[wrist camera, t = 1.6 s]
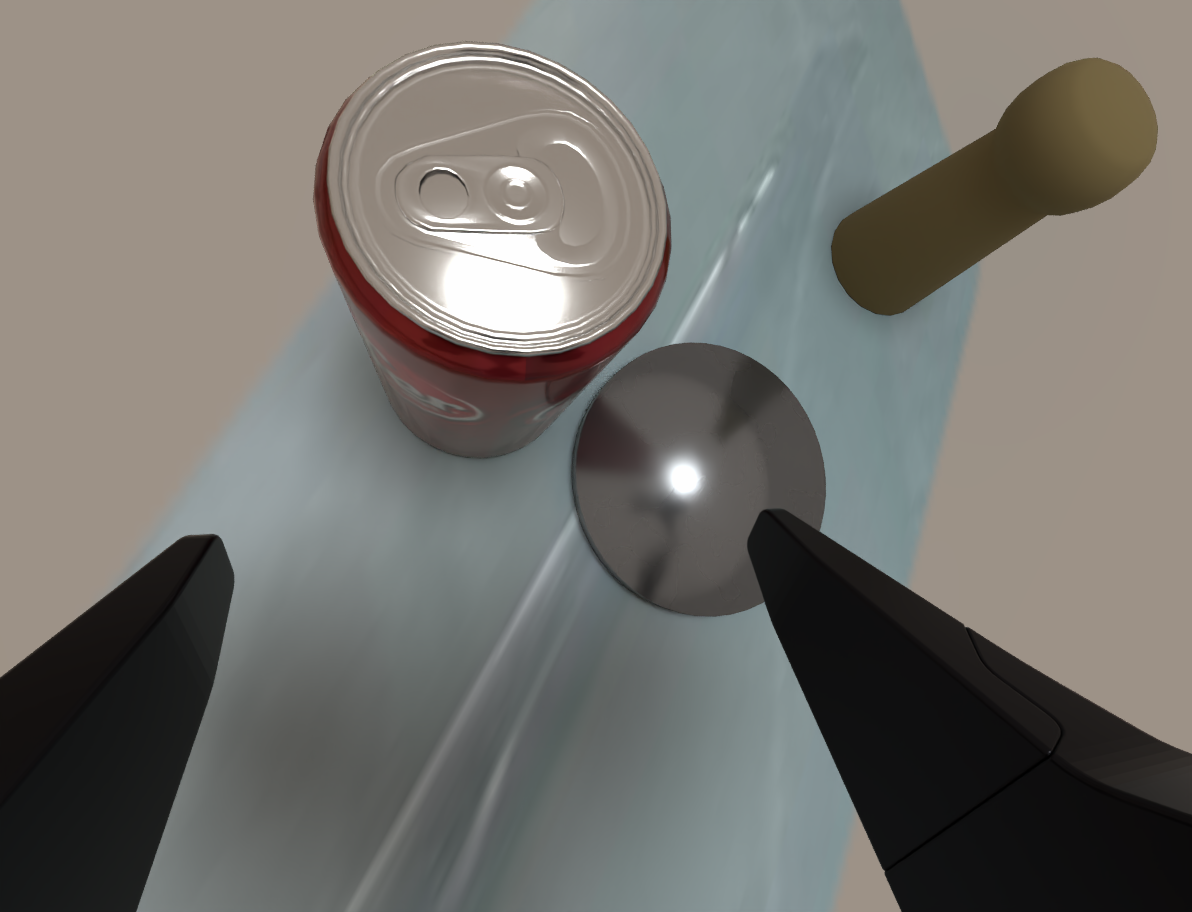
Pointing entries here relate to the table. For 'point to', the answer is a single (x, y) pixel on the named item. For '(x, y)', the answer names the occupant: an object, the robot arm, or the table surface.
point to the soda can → (489, 238)
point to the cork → (1000, 185)
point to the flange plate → (692, 474)
